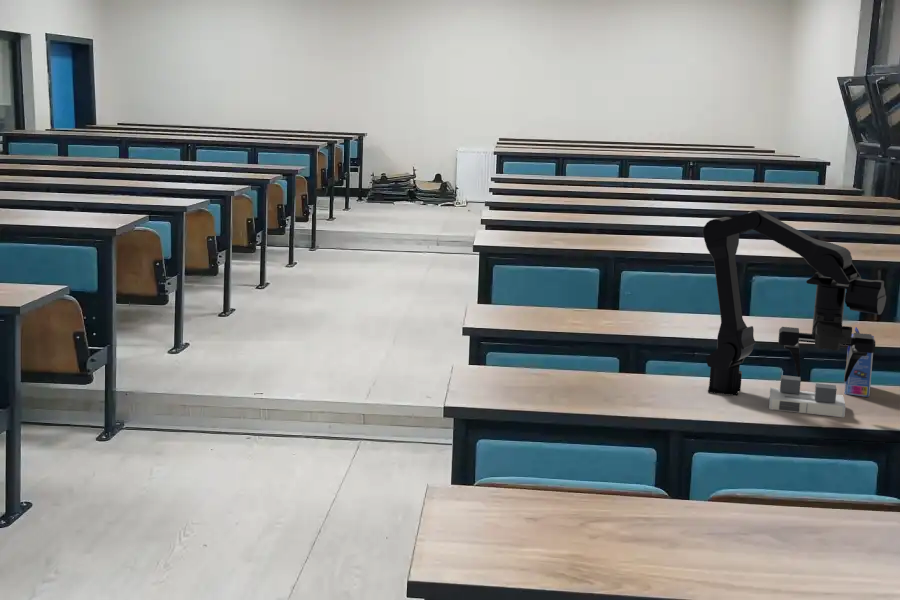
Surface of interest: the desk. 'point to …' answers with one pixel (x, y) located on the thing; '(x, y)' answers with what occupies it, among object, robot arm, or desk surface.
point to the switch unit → (805, 403)
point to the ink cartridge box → (860, 375)
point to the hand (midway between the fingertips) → (821, 378)
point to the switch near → (825, 393)
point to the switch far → (790, 384)
